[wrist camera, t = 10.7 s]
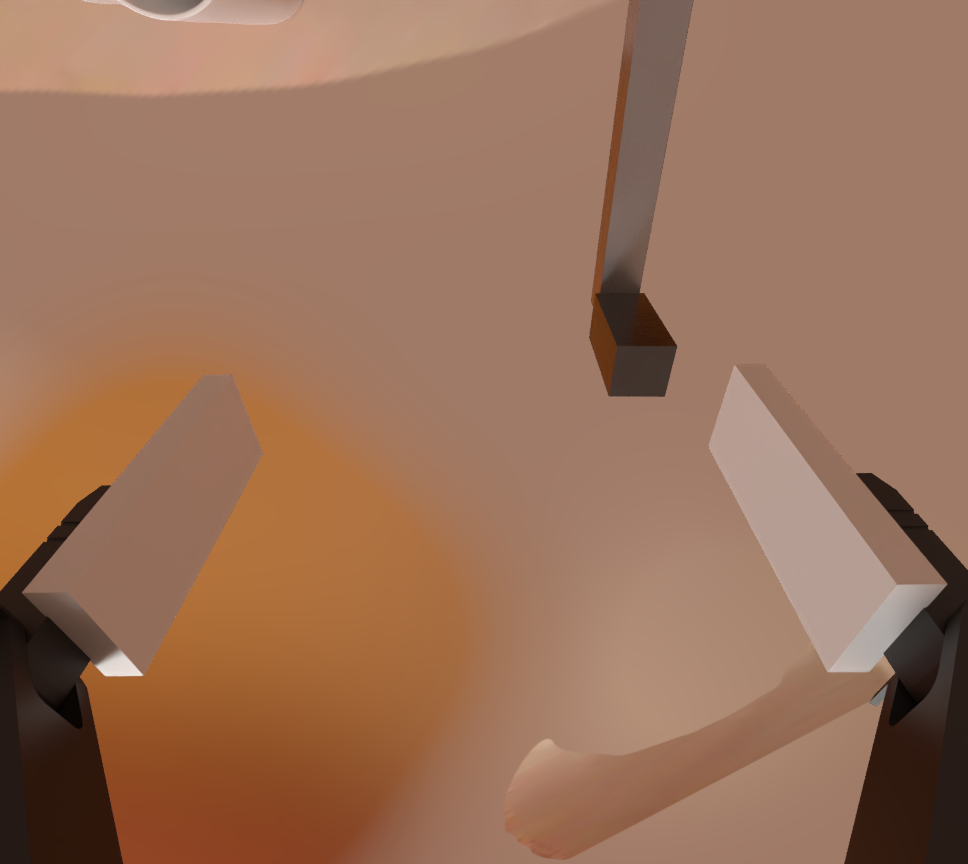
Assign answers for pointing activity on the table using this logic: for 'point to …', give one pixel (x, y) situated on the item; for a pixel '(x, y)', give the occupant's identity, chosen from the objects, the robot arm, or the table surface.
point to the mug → (213, 10)
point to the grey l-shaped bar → (637, 202)
